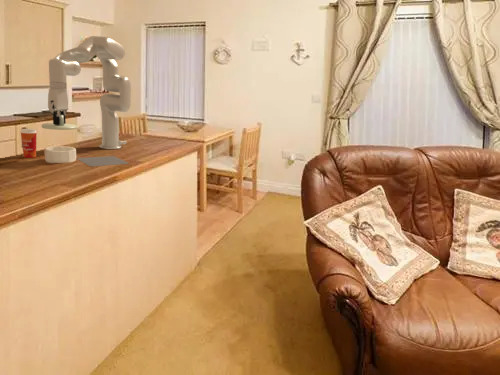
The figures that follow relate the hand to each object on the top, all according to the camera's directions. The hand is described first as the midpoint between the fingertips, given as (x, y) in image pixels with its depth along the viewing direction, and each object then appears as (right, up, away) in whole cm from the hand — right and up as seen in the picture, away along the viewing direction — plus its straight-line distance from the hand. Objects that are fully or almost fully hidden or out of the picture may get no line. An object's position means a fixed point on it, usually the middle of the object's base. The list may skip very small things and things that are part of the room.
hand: (59, 123), depth 211 cm
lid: (0, -2, 0) cm, 2 cm away
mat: (+18, -18, +10) cm, 27 cm away
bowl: (-1, -18, +5) cm, 19 cm away
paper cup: (-18, -16, +7) cm, 25 cm away
